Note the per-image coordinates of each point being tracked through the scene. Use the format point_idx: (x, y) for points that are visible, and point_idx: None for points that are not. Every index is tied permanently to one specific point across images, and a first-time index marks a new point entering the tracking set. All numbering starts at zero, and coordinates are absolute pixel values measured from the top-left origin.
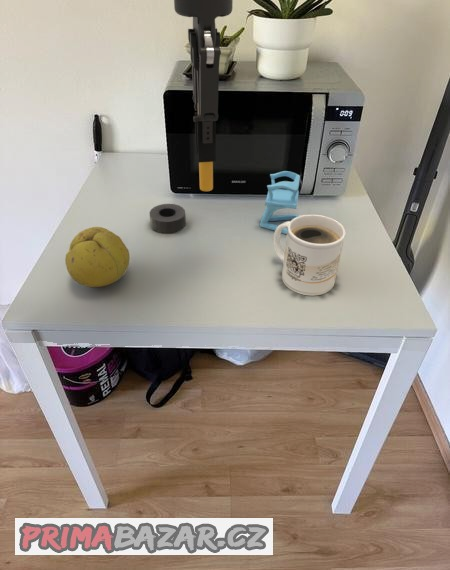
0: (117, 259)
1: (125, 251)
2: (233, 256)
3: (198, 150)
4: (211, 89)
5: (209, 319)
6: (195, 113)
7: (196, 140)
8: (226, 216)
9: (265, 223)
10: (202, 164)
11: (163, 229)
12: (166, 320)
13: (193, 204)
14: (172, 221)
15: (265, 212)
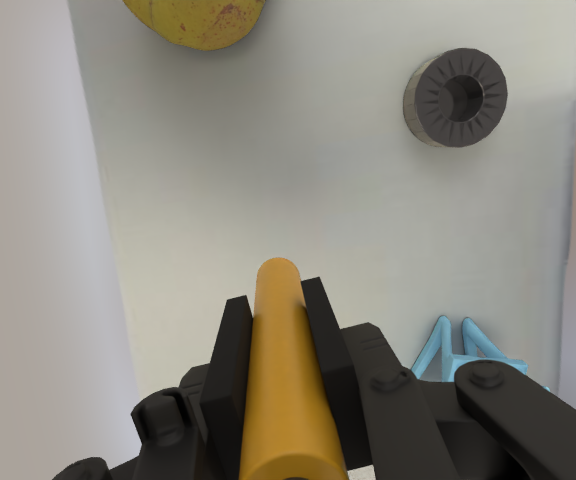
0: (158, 26)
1: (194, 39)
2: (324, 268)
3: (221, 321)
4: None
5: (125, 241)
6: (325, 373)
7: (306, 306)
8: (483, 239)
9: (440, 331)
10: (255, 303)
11: (407, 98)
12: (107, 162)
13: (542, 152)
14: (417, 120)
15: (476, 334)
